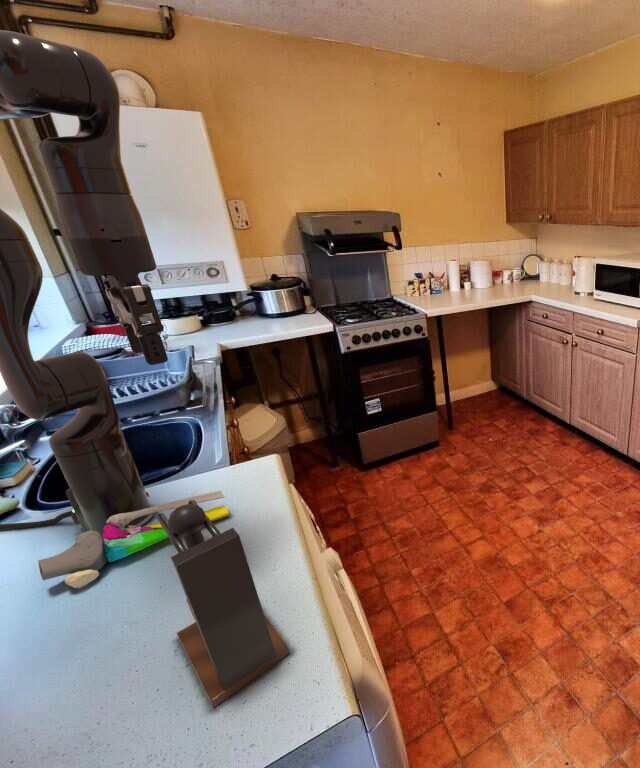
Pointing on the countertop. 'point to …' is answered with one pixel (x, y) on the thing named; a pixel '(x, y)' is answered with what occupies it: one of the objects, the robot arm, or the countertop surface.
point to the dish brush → (188, 525)
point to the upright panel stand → (223, 613)
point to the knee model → (115, 542)
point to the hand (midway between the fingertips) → (150, 357)
